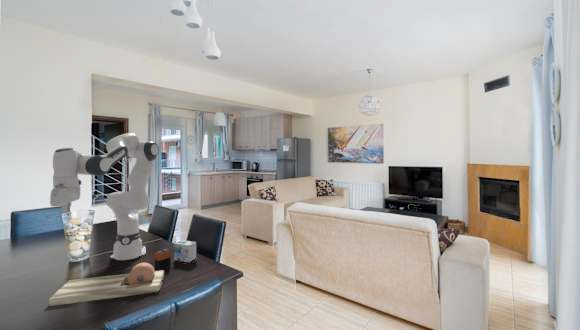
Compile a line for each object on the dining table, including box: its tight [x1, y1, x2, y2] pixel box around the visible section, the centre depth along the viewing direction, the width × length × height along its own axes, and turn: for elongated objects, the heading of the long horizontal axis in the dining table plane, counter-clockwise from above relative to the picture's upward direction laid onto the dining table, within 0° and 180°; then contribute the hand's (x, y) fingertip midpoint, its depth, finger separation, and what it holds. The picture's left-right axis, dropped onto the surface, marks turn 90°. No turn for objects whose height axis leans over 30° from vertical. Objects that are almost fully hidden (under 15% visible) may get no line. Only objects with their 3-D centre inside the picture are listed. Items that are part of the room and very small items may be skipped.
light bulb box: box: [173, 239, 197, 262], centre depth 156 cm, size 11×7×11 cm, turn 71°
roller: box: [127, 262, 155, 285], centre depth 125 cm, size 6×10×10 cm
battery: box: [154, 248, 171, 271], centre depth 145 cm, size 4×7×10 cm, turn 146°
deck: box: [48, 269, 165, 307], centre depth 122 cm, size 17×40×3 cm, turn 108°
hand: (66, 212), depth 125 cm, fingers closed
